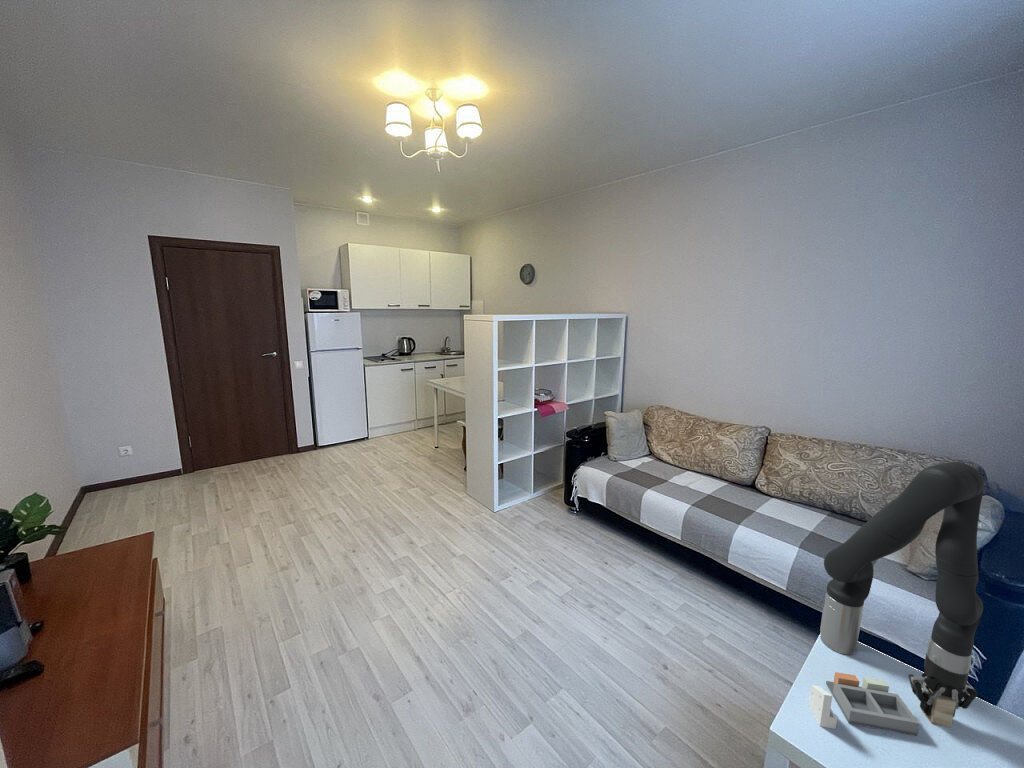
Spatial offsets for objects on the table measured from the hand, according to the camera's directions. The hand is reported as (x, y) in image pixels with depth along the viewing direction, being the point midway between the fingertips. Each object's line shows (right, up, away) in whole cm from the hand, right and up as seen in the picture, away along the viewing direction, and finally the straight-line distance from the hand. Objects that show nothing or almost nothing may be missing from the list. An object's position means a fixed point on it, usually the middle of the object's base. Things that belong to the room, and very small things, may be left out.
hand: (936, 714), depth 105 cm
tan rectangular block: (0, -1, 0) cm, 1 cm away
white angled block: (-30, -2, +1) cm, 30 cm away
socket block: (-15, -1, +3) cm, 16 cm away
